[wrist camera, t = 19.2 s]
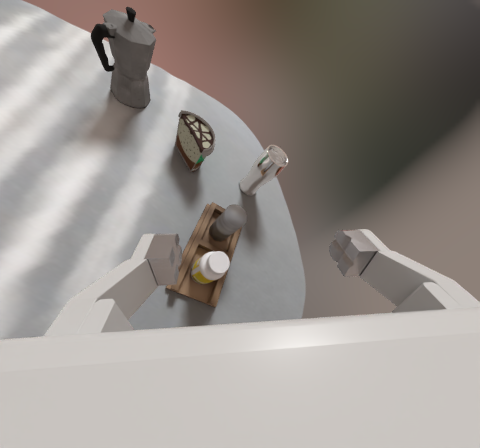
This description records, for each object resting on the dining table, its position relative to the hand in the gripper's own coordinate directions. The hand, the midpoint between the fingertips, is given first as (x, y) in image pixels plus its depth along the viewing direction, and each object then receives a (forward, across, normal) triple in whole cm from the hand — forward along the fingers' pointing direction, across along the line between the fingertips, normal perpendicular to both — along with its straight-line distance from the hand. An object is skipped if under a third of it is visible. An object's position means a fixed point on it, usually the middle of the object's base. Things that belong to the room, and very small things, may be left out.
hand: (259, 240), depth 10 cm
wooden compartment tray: (+24, -5, -26) cm, 36 cm away
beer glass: (+46, +6, -20) cm, 50 cm away
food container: (+47, -10, -11) cm, 49 cm away
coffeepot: (+56, -27, +2) cm, 62 cm away
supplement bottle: (+19, -6, -27) cm, 34 cm away
